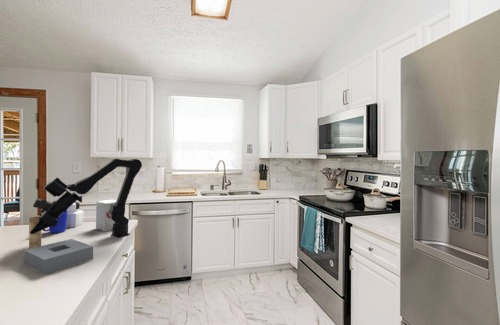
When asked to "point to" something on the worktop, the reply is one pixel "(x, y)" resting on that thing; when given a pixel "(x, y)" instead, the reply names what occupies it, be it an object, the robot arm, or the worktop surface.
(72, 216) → the container
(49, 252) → the socket block
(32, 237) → the pin
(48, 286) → the worktop surface
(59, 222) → the mug
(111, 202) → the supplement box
